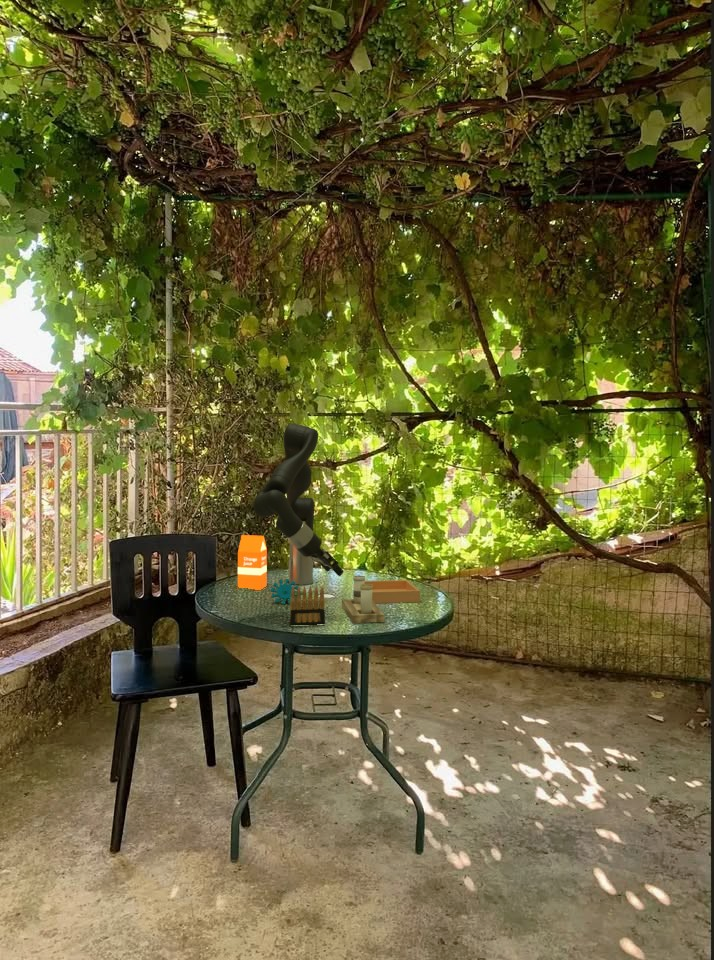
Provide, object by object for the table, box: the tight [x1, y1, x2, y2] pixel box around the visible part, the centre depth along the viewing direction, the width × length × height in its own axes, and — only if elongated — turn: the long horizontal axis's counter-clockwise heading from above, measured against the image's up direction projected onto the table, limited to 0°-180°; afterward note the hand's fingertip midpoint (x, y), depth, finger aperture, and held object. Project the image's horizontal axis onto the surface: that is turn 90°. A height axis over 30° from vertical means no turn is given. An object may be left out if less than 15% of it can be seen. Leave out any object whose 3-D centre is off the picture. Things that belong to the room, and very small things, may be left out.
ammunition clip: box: [289, 585, 326, 626], centre depth 213 cm, size 11×2×12 cm, turn 100°
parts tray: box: [364, 579, 421, 605], centre depth 252 cm, size 18×18×4 cm
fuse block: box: [341, 598, 385, 624], centre depth 227 cm, size 10×21×2 cm, turn 10°
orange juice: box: [237, 534, 268, 590], centre depth 261 cm, size 8×9×20 cm
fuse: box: [360, 584, 373, 614], centre depth 221 cm, size 4×4×11 cm
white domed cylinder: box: [352, 574, 366, 604], centre depth 233 cm, size 4×4×11 cm
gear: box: [270, 578, 303, 605], centre depth 243 cm, size 11×6×10 cm
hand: (335, 571), depth 228 cm, fingers open, 8 cm apart
